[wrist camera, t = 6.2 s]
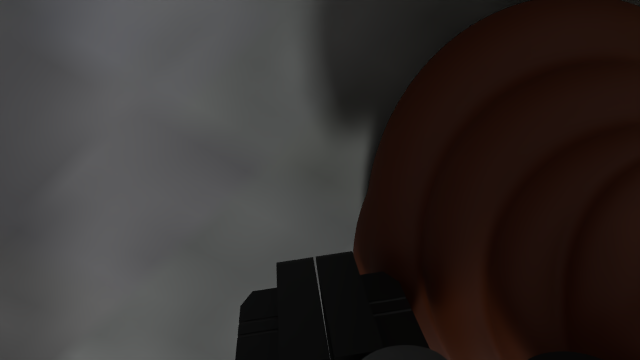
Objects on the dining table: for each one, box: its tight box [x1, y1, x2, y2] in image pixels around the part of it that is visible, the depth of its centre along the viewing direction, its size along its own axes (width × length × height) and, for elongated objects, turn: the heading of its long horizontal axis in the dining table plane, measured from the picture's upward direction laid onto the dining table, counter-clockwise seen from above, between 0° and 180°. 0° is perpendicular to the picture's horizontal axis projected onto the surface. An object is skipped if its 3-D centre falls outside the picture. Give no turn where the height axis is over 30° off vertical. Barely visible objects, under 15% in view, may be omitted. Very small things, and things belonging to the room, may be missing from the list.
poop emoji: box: [353, 0, 640, 360], centre depth 11 cm, size 10×8×9 cm
